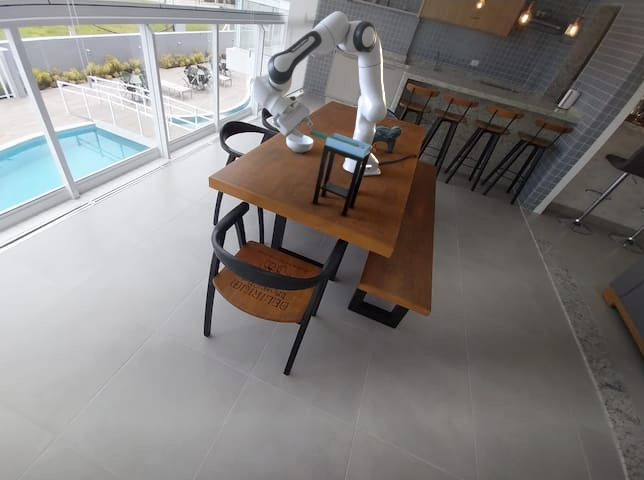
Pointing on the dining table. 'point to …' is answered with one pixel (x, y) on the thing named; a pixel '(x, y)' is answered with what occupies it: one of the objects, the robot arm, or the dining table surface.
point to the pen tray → (348, 147)
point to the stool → (336, 188)
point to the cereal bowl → (299, 143)
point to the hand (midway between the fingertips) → (307, 131)
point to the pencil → (324, 136)
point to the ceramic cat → (387, 135)
